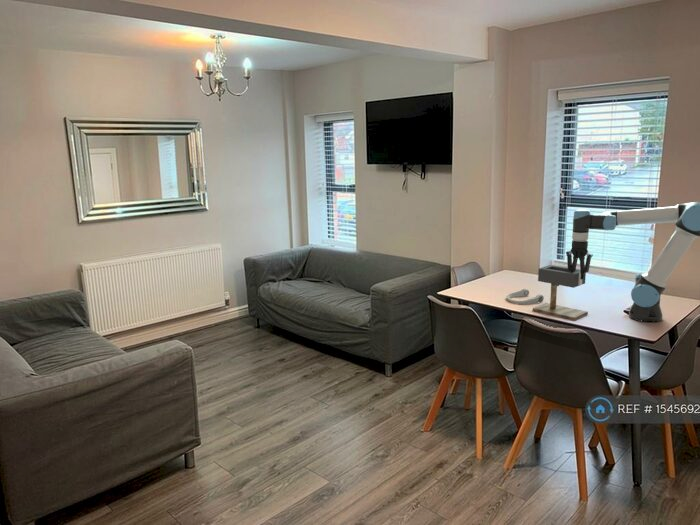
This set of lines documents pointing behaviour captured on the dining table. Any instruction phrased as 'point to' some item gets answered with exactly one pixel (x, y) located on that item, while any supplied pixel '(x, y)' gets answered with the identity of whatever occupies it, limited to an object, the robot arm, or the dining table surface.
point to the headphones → (525, 293)
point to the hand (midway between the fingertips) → (577, 284)
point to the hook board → (559, 308)
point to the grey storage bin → (559, 276)
